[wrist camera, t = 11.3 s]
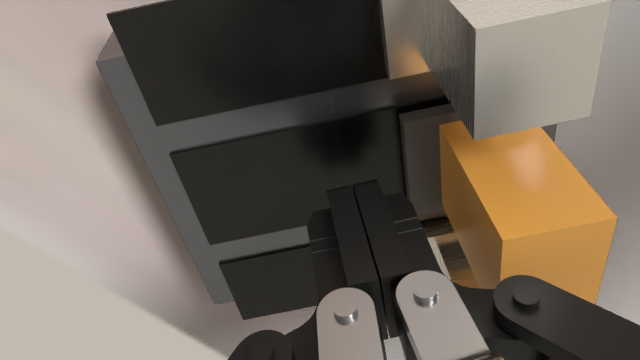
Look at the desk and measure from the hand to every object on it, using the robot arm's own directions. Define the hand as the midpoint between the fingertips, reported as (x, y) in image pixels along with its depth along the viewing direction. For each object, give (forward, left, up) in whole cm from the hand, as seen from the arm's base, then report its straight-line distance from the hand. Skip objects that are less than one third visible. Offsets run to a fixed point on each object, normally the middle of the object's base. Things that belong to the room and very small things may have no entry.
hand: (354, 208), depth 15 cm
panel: (0, 0, -4) cm, 4 cm away
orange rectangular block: (-4, 0, -1) cm, 4 cm away
